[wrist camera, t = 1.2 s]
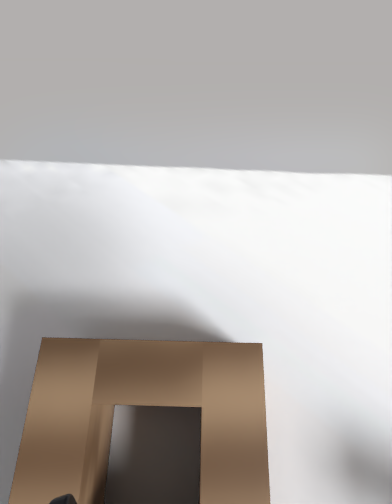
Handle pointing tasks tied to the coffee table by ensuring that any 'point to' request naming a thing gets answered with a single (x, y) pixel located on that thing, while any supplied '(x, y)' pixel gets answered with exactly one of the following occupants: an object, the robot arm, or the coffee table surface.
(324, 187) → the coffee table surface
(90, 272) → the coffee table surface
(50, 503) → the robot arm
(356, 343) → the coffee table surface
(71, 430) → the socket
